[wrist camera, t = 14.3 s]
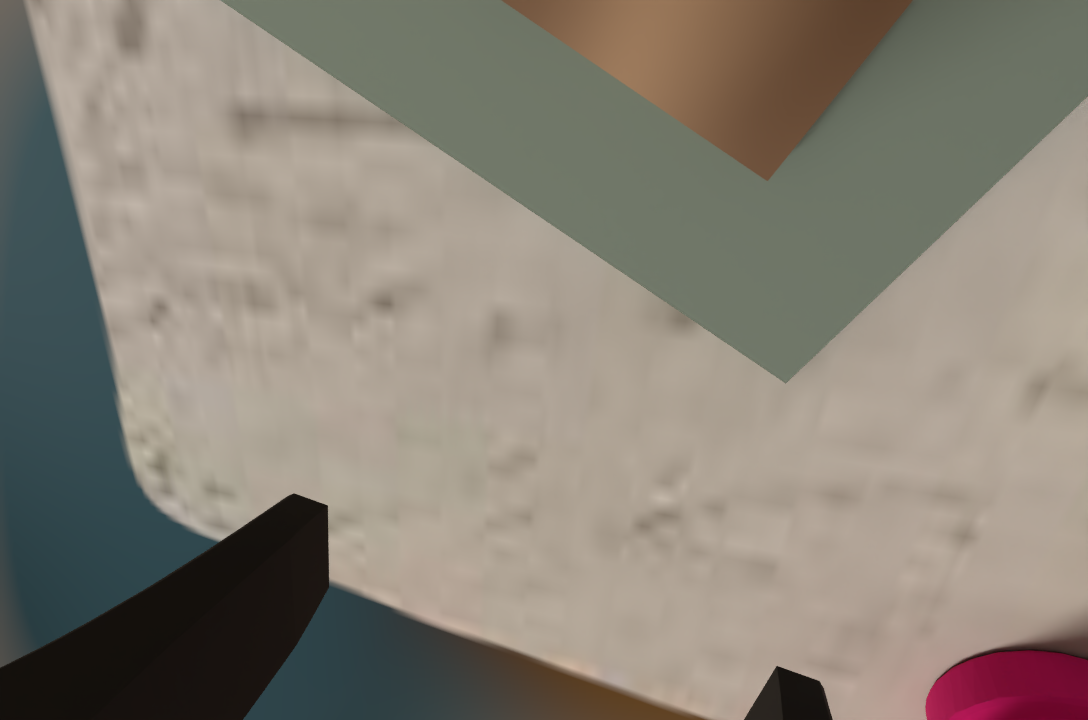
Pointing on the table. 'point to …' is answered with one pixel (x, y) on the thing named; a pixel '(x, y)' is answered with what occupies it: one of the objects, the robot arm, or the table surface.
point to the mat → (705, 170)
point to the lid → (727, 60)
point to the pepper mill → (1012, 688)
